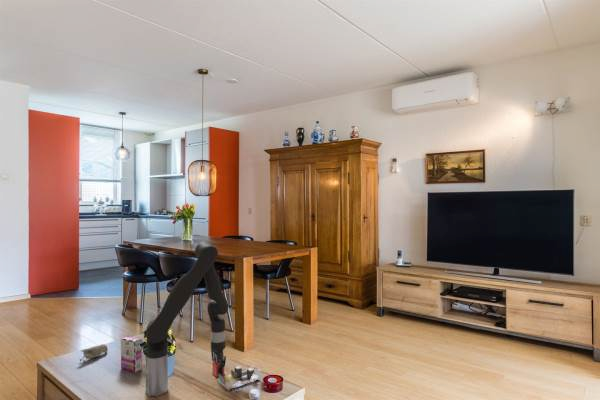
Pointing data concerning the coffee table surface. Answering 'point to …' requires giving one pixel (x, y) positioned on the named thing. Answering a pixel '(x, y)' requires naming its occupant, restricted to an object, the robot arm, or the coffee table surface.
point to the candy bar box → (131, 354)
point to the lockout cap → (216, 368)
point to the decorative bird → (94, 351)
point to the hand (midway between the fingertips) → (218, 372)
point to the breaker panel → (232, 379)
